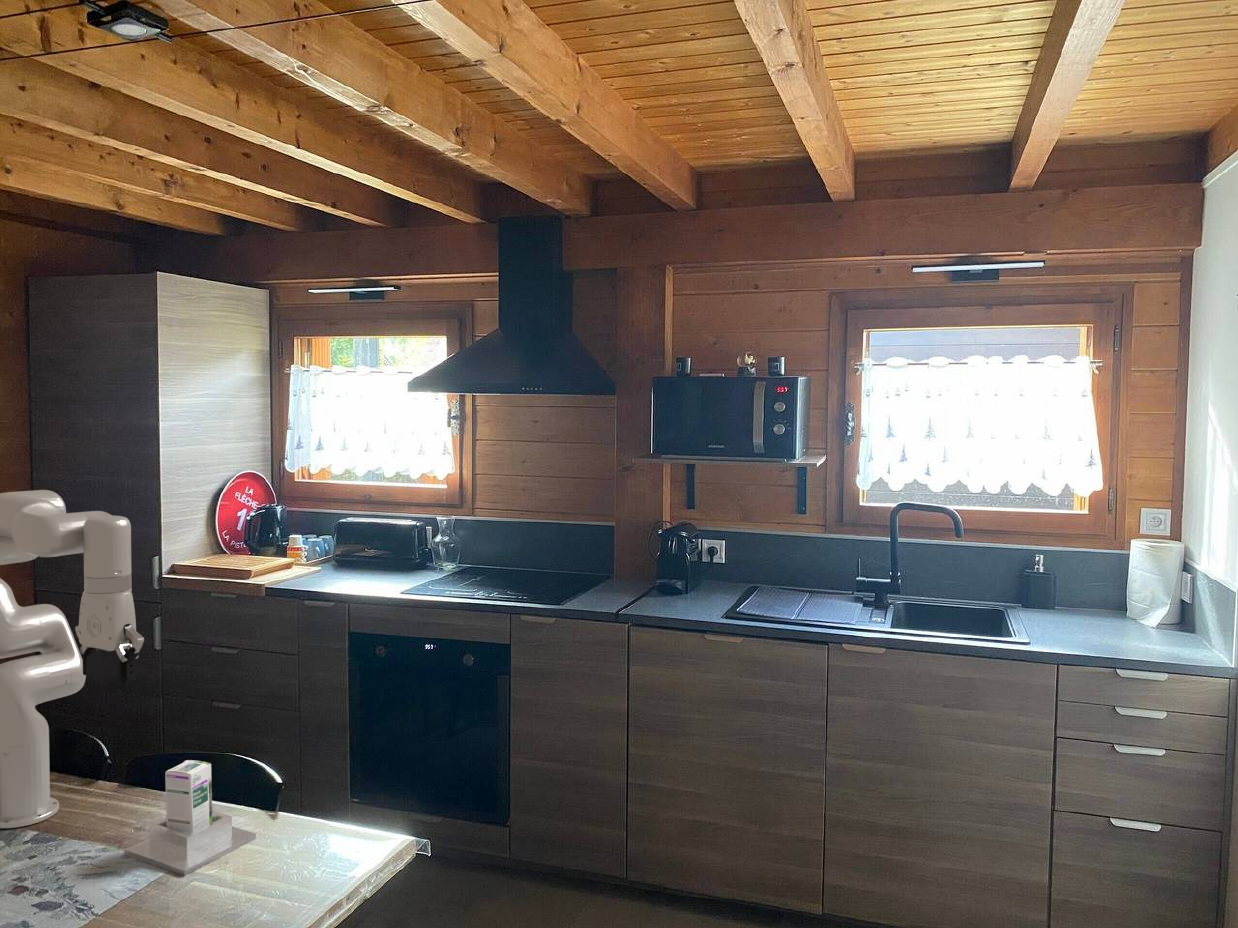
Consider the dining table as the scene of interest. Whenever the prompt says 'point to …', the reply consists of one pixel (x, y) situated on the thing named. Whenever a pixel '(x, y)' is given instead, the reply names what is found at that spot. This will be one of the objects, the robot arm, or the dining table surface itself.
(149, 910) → the dining table surface
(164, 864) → the sleeve holder
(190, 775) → the syrup box
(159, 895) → the dining table surface
